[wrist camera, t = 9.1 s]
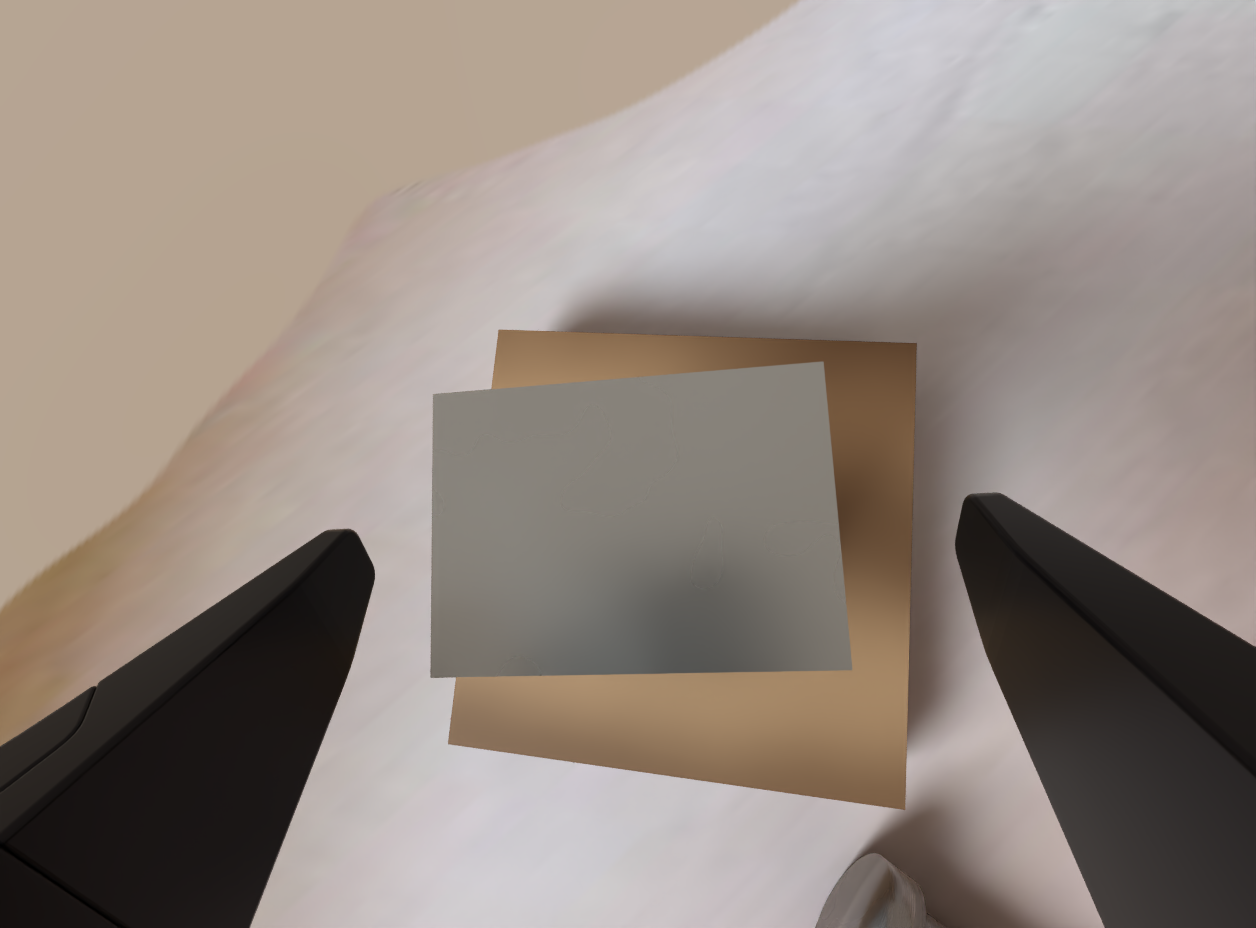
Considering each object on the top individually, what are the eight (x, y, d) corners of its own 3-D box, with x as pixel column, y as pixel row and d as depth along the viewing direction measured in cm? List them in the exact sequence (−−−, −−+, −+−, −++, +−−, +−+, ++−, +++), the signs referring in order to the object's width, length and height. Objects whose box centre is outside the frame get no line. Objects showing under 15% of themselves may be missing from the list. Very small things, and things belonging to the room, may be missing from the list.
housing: (799, 624, 17) (904, 707, 7) (576, 630, 18) (392, 711, 8) (786, 459, 17) (863, 325, 8) (572, 473, 18) (398, 367, 9)
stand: (876, 771, 19) (904, 809, 16) (487, 718, 21) (447, 743, 18) (889, 375, 20) (916, 343, 17) (528, 360, 22) (498, 329, 19)
